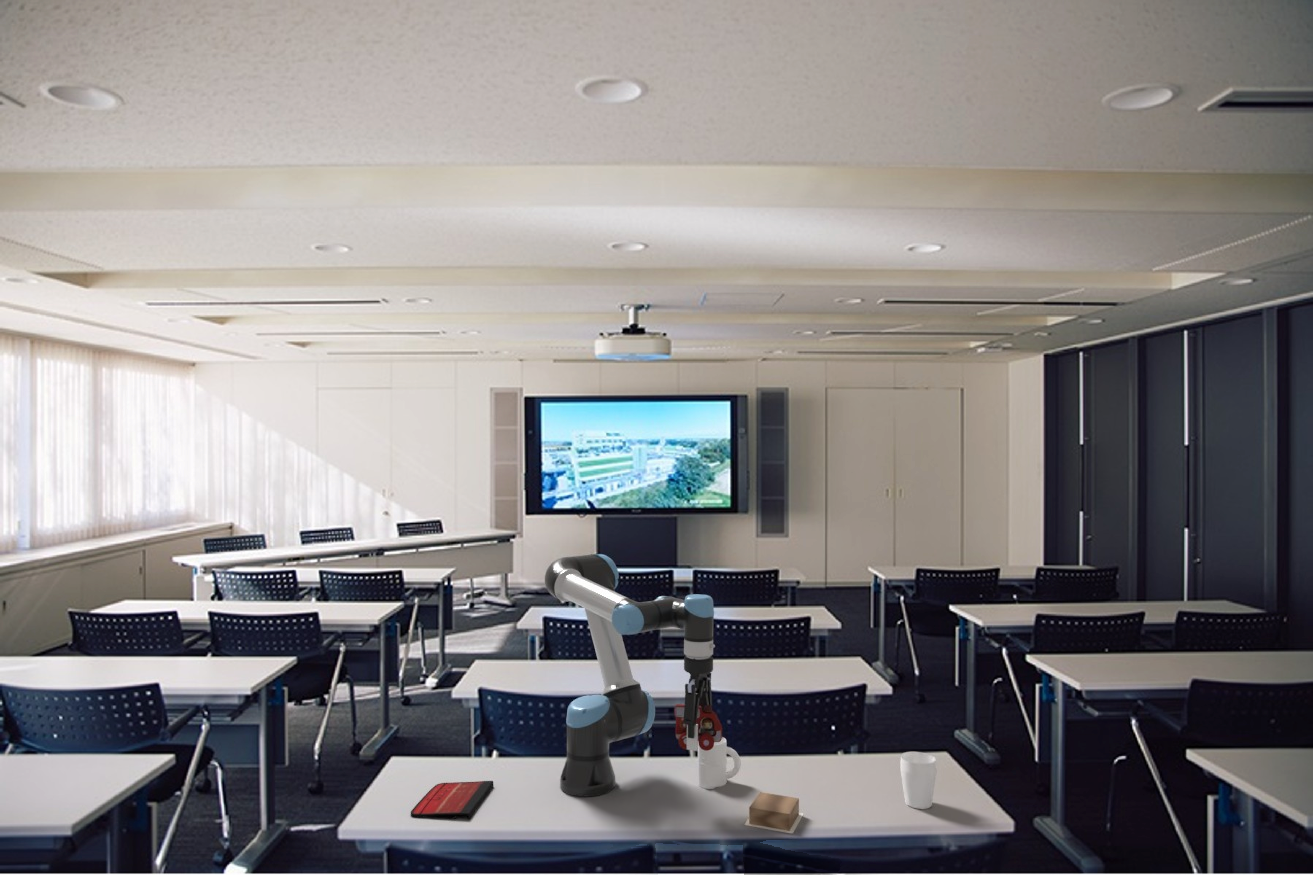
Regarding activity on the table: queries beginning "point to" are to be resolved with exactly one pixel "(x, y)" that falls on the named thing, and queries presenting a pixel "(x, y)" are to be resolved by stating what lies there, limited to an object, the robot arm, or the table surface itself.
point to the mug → (716, 765)
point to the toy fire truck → (706, 733)
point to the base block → (774, 811)
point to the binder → (452, 800)
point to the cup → (918, 778)
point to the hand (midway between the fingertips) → (697, 744)
